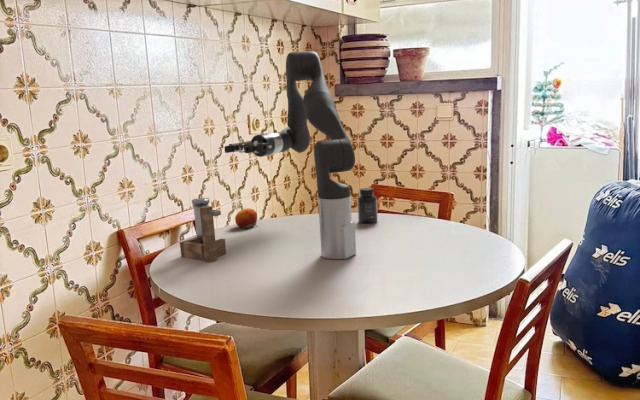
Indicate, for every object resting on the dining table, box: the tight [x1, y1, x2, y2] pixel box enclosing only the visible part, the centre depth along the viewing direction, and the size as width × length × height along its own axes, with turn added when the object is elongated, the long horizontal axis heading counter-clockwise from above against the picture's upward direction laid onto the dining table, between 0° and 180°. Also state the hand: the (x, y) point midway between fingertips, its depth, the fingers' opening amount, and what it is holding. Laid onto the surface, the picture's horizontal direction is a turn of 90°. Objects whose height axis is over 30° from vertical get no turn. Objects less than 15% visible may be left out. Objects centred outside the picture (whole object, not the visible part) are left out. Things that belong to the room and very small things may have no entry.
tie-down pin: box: [191, 197, 211, 244], centre depth 170 cm, size 5×5×17 cm
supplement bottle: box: [357, 187, 379, 225], centre depth 200 cm, size 7×7×12 cm
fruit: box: [234, 207, 258, 229], centre depth 204 cm, size 8×8×8 cm
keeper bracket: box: [179, 206, 227, 263], centre depth 167 cm, size 16×9×16 cm, turn 56°
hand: (235, 149), depth 179 cm, fingers open, 8 cm apart
